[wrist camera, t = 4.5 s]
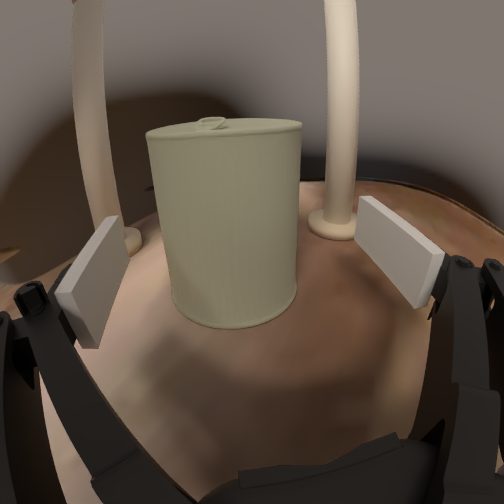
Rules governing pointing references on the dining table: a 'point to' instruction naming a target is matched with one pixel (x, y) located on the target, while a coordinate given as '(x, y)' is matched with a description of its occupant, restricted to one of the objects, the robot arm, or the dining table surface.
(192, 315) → the can
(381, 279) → the dining table surface
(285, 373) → the dining table surface
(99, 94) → the gate
